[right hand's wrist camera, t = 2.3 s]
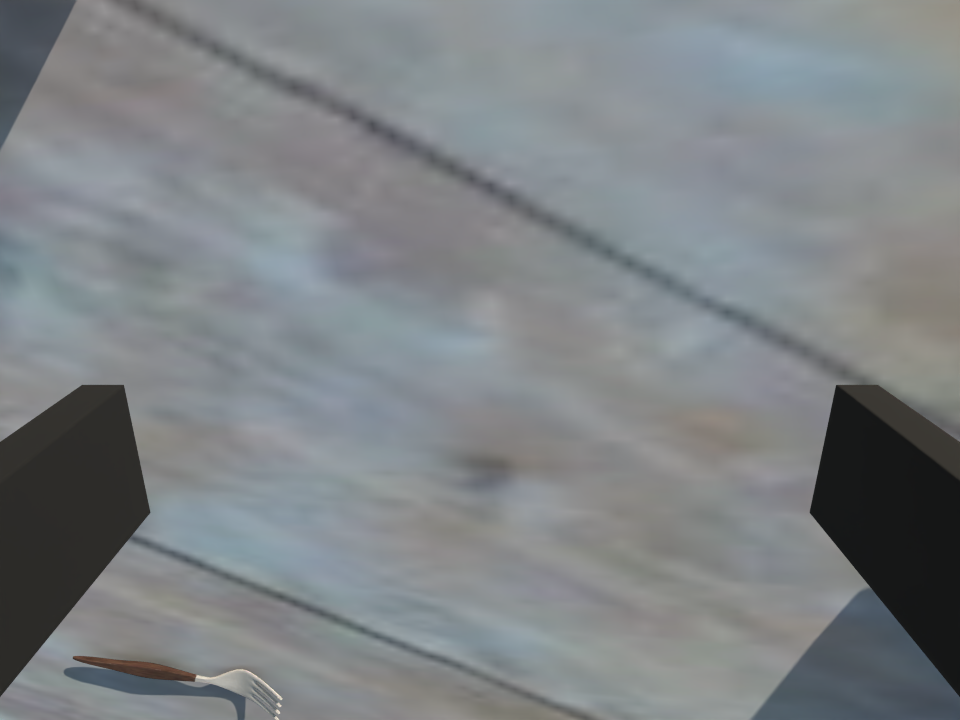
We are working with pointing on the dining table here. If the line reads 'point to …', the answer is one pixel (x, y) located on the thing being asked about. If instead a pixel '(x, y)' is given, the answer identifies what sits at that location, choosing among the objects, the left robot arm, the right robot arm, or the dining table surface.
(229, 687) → the fork
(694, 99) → the dining table surface
